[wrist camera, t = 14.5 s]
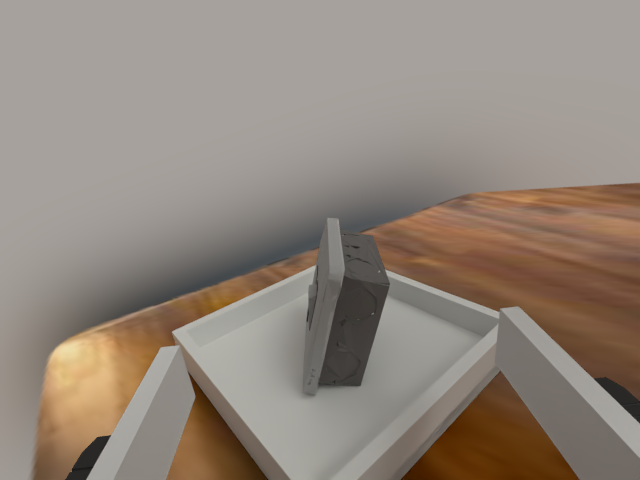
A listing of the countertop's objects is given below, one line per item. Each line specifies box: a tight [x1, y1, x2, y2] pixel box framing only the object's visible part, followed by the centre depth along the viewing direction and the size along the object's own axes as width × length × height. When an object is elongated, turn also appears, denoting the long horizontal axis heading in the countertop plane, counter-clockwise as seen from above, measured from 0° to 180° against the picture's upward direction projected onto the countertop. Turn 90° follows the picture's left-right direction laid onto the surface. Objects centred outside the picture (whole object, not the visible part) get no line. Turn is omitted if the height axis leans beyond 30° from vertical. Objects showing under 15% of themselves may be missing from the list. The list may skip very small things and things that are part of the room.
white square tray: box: [172, 265, 500, 480], centre depth 27 cm, size 18×18×3 cm
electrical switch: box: [303, 218, 390, 395], centre depth 25 cm, size 9×5×9 cm, turn 0°
